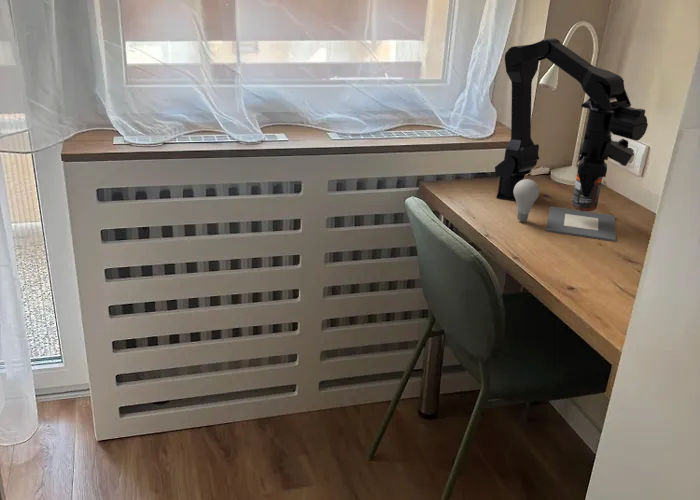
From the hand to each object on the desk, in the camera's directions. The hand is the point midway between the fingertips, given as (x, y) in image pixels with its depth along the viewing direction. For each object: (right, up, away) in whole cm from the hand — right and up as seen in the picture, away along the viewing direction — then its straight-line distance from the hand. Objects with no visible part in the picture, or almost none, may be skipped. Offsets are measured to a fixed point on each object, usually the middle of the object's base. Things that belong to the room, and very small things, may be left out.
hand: (586, 192), depth 168 cm
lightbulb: (-15, -7, +4) cm, 17 cm away
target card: (0, -8, +3) cm, 8 cm away
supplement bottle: (0, -4, +2) cm, 4 cm away
